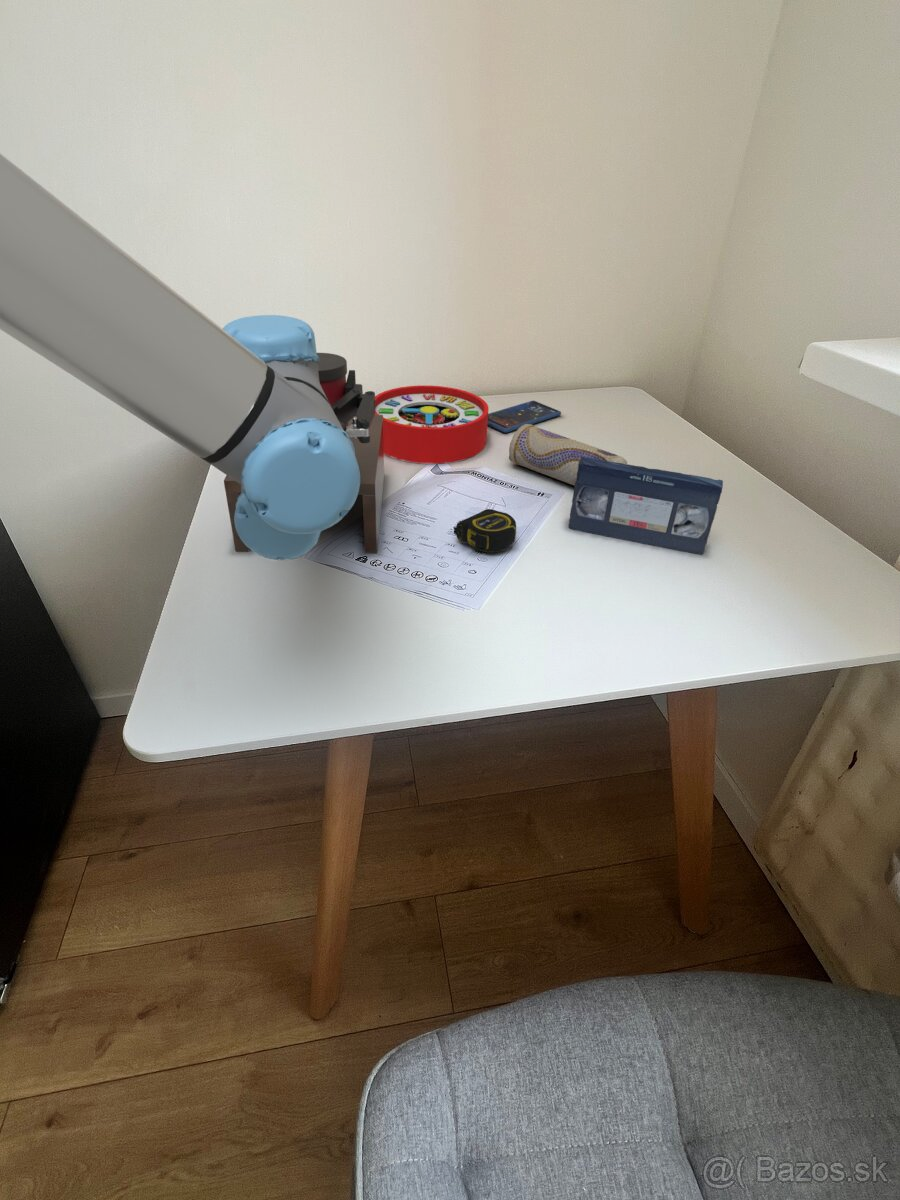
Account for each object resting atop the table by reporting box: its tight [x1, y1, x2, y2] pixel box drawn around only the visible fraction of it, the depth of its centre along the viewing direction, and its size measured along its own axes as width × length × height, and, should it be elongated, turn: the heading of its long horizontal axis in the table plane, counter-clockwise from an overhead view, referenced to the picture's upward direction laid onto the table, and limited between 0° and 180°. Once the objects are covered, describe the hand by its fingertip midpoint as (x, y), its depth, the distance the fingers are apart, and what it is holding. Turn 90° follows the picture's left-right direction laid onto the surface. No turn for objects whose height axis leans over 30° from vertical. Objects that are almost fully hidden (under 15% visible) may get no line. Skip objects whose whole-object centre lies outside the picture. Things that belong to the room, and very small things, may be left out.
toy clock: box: [375, 384, 489, 465], centre depth 118 cm, size 20×6×20 cm
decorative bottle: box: [508, 424, 639, 487], centre depth 105 cm, size 26×8×7 cm, turn 50°
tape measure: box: [453, 508, 517, 553], centre depth 92 cm, size 7×7×4 cm
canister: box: [317, 352, 348, 427], centre depth 87 cm, size 7×7×10 cm
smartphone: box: [487, 400, 562, 433], centre depth 129 cm, size 8×1×15 cm
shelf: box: [223, 415, 385, 554], centre depth 95 cm, size 18×22×10 cm
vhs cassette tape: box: [568, 457, 724, 555], centre depth 93 cm, size 18×3×10 cm, turn 70°
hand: (325, 380), depth 90 cm, fingers closed on canister, 6 cm apart
